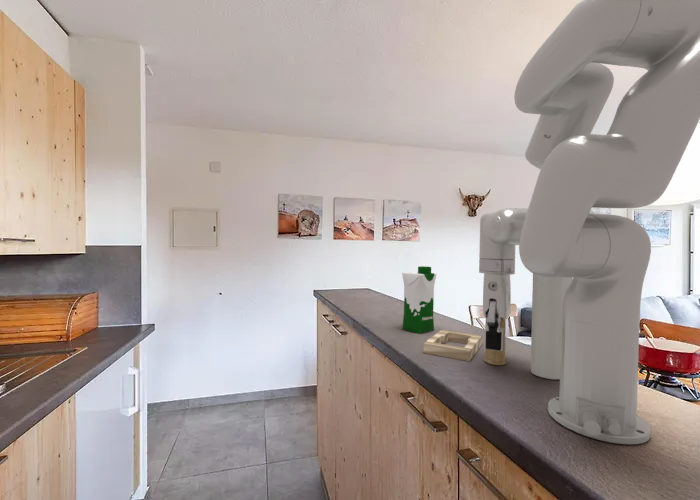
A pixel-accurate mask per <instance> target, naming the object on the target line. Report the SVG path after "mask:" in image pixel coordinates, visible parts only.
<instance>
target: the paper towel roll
mask: <svg viewBox="0 0 700 500" xmlns="http://www.w3.org/2000/svg"><path fill="white" fill-rule="evenodd" d="M572 279H573V277H544V276H539V275H536V274H534V273H532V301H531V302H532V303H531V304H532V305H531V335H530V336H531V338H530V339H531V343H530V371H531V373H532V374H533V375H535V376H537V377H540V378H543V379H547V380H560V355H561V316H562V303H563V298H564V295H565V293H566V290H567V288H568V286H569V285H570V283H571V281H572Z"/></svg>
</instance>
